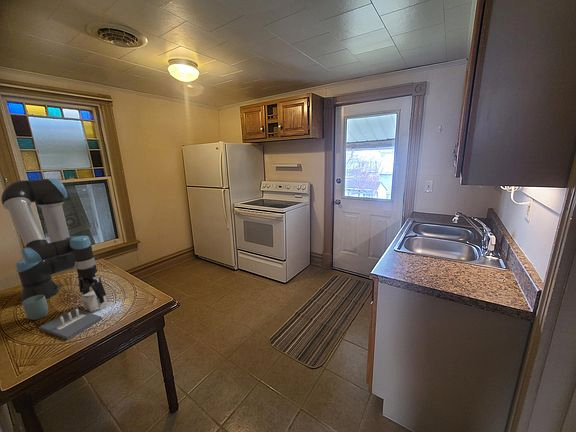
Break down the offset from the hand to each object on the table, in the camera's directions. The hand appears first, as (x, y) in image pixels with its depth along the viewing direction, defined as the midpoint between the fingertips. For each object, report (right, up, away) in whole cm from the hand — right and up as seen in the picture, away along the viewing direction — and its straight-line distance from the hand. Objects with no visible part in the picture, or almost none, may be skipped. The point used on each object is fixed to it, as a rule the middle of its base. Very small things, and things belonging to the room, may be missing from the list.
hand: (96, 306), depth 126 cm
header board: (-1, -4, -13) cm, 14 cm away
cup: (-22, -3, -7) cm, 24 cm away
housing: (0, 0, 0) cm, 0 cm away
